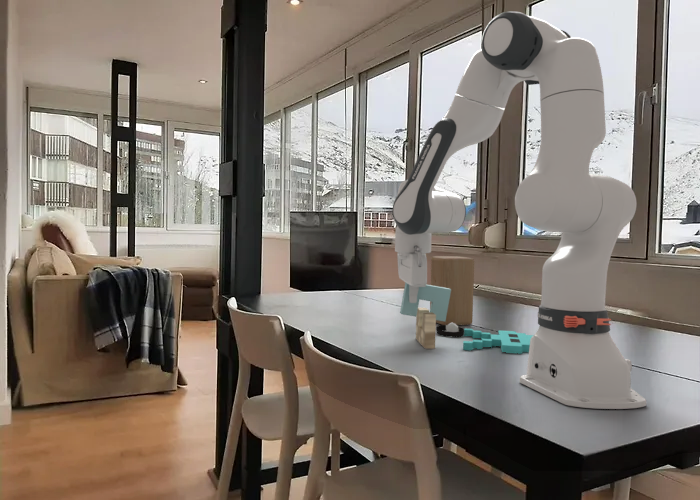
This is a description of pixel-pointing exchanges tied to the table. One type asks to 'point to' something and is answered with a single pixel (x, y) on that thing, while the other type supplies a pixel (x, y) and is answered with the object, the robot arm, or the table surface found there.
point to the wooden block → (455, 286)
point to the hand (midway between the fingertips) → (411, 301)
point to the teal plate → (428, 293)
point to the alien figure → (498, 341)
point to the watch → (450, 330)
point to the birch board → (426, 328)
